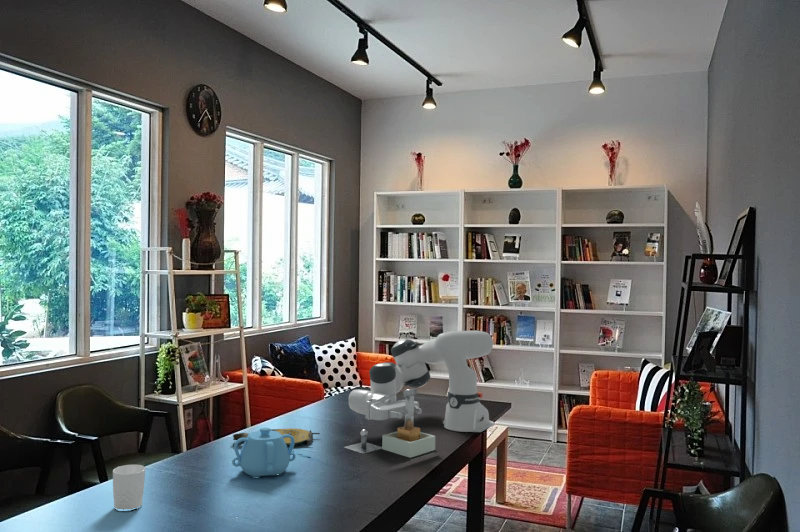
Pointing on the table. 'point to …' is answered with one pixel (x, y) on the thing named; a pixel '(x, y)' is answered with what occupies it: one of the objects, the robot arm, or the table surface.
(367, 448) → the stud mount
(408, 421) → the strut
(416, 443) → the bin
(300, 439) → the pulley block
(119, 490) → the white cup
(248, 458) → the decorative pot
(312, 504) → the table surface
